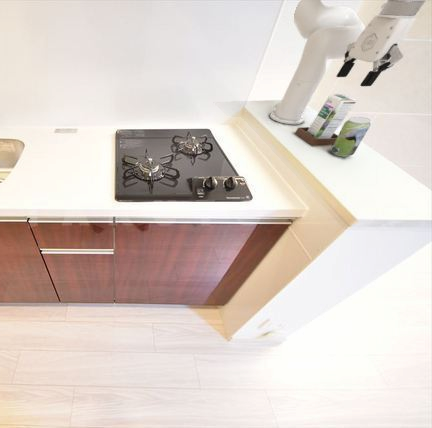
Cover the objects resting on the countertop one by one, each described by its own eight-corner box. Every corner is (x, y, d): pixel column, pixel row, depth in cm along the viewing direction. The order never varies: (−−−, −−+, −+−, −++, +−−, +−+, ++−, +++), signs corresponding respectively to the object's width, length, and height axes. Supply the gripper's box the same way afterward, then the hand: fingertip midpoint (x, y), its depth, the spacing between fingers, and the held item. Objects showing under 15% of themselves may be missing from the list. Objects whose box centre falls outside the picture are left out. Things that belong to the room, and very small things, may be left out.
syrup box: (304, 134, 88) (328, 94, 78) (318, 134, 88) (345, 93, 78) (314, 141, 84) (341, 100, 74) (329, 140, 84) (359, 99, 74)
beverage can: (354, 159, 76) (384, 124, 68) (330, 157, 77) (356, 122, 69) (345, 150, 80) (371, 115, 72) (321, 148, 82) (345, 114, 73)
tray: (294, 133, 90) (298, 127, 88) (319, 132, 90) (323, 126, 89) (311, 145, 83) (316, 139, 81) (338, 144, 83) (343, 138, 82)
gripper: (359, 7, 67) (322, 74, 79) (419, 13, 55) (363, 90, 67) (384, 7, 67) (343, 73, 79) (448, 12, 55) (388, 89, 67)
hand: (352, 81), depth 73 cm, fingers open, 9 cm apart
